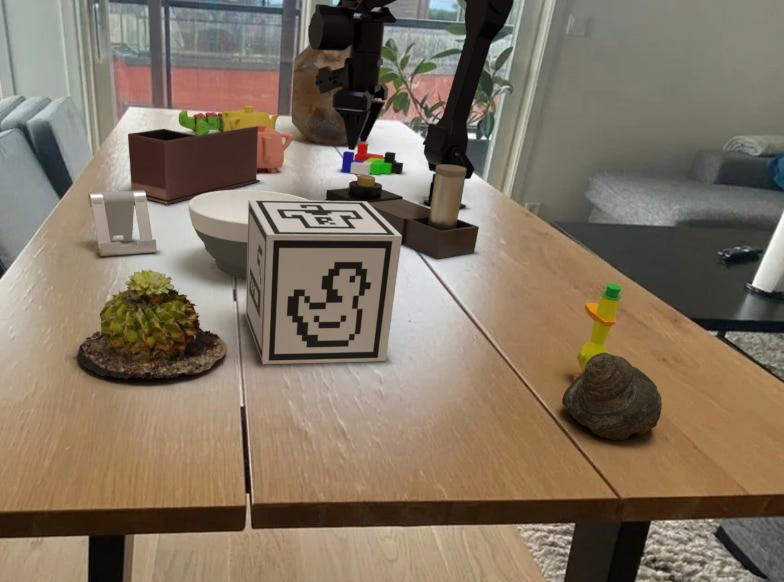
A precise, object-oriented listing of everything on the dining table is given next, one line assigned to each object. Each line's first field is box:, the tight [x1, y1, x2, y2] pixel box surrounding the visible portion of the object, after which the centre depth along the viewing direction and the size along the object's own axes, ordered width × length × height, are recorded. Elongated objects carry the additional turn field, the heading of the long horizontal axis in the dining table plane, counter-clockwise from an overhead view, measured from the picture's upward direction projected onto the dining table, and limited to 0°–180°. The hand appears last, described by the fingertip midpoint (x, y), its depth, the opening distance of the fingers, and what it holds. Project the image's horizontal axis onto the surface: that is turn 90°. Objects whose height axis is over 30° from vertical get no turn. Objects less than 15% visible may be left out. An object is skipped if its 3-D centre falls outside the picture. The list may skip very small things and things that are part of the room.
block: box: [245, 200, 402, 365], centre depth 93 cm, size 15×15×15 cm
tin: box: [428, 164, 466, 231], centre depth 130 cm, size 5×5×13 cm
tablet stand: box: [87, 190, 157, 257], centre depth 120 cm, size 9×8×8 cm
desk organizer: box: [127, 126, 261, 205], centre depth 156 cm, size 10×29×11 cm, turn 146°
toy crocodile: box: [178, 109, 225, 136], centre depth 211 cm, size 20×7×6 cm, turn 114°
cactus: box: [76, 268, 227, 380], centre depth 87 cm, size 17×16×10 cm
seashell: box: [561, 353, 663, 441], centre depth 80 cm, size 11×12×10 cm
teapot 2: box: [256, 124, 293, 174], centre depth 175 cm, size 12×12×10 cm
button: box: [356, 174, 376, 187], centre depth 154 cm, size 4×4×2 cm
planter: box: [290, 44, 350, 147], centre depth 208 cm, size 22×24×24 cm
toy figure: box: [573, 282, 622, 381], centre depth 88 cm, size 7×4×12 cm, turn 8°
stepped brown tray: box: [369, 198, 480, 260], centre depth 136 cm, size 9×20×4 cm, turn 34°
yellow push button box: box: [325, 180, 404, 203], centre depth 155 cm, size 12×10×4 cm
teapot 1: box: [221, 105, 282, 131], centre depth 194 cm, size 14×13×10 cm
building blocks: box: [341, 142, 404, 176], centre depth 185 cm, size 15×13×4 cm
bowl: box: [187, 189, 311, 280], centre depth 115 cm, size 20×20×10 cm
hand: (357, 145), depth 145 cm, fingers open, 9 cm apart
